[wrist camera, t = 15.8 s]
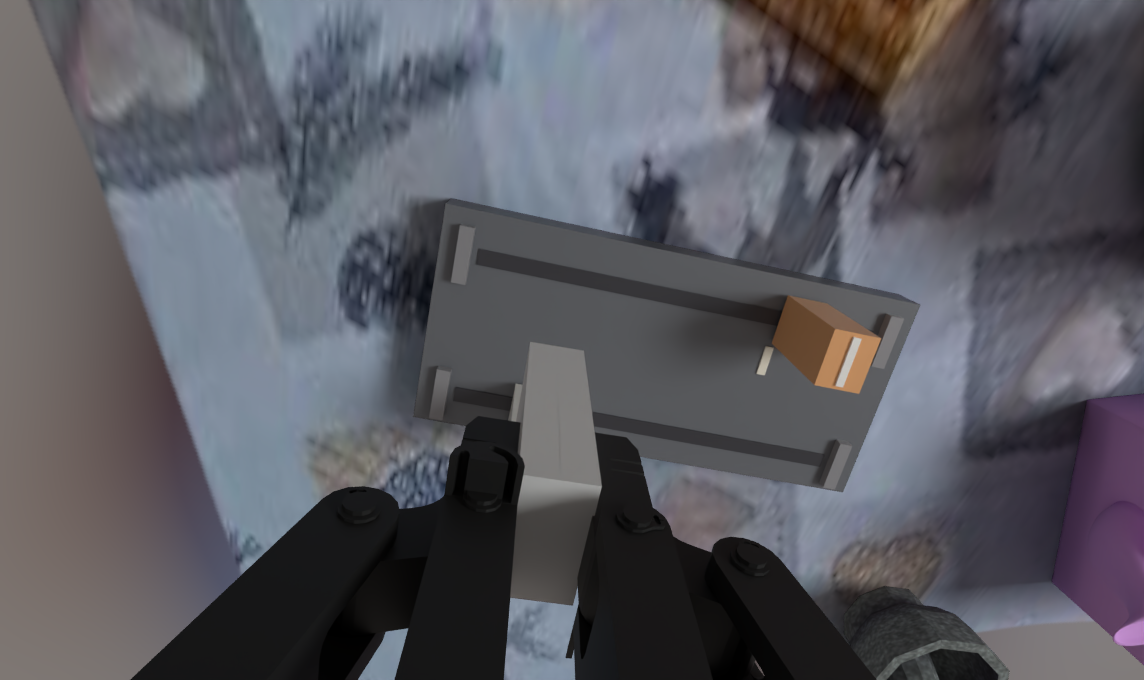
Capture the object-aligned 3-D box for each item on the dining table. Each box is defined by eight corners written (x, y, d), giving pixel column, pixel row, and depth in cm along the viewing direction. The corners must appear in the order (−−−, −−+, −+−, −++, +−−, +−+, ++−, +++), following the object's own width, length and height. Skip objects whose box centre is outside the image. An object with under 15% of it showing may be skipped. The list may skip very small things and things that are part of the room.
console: (451, 198, 36) (443, 204, 33) (898, 294, 39) (926, 307, 36) (420, 400, 40) (411, 421, 37) (827, 472, 43) (846, 497, 40)
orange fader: (787, 295, 36) (836, 329, 30) (826, 303, 36) (882, 338, 30) (771, 343, 37) (815, 386, 31) (809, 351, 37) (860, 394, 31)
